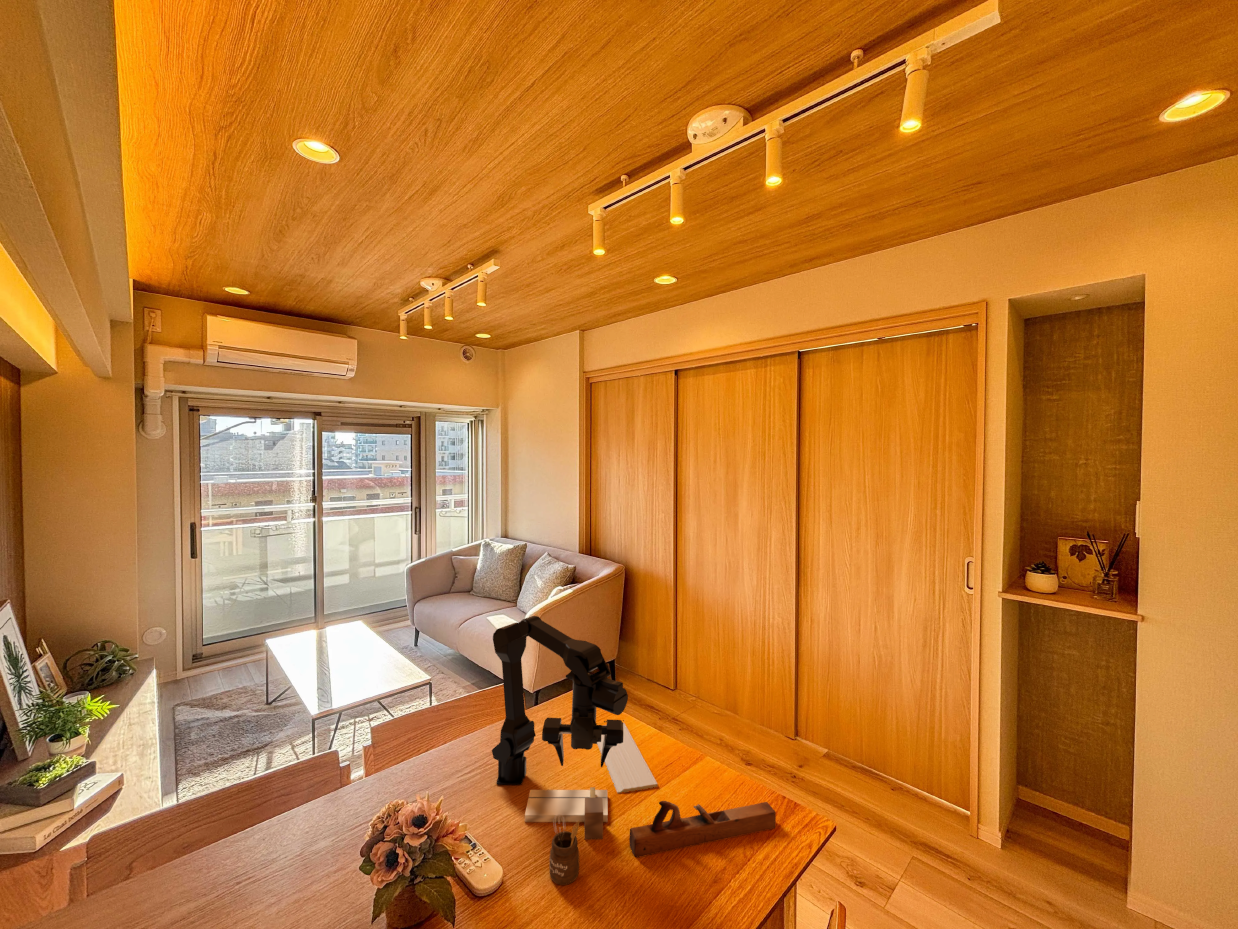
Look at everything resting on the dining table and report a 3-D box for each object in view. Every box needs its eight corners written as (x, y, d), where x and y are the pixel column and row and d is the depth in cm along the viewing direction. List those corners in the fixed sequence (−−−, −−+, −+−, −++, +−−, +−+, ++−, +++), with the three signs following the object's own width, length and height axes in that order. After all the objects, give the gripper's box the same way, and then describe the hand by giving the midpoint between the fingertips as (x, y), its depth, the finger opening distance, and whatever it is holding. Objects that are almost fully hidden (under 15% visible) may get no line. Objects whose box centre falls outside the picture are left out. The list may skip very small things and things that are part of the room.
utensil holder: (564, 858, 109) (565, 801, 109) (586, 874, 105) (587, 815, 105) (543, 875, 104) (544, 816, 104) (565, 892, 100) (566, 831, 100)
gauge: (584, 839, 114) (585, 812, 114) (584, 800, 127) (584, 776, 127) (602, 839, 115) (603, 812, 114) (600, 800, 128) (600, 775, 127)
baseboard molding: (611, 797, 130) (657, 789, 133) (612, 785, 130) (657, 778, 133) (586, 732, 160) (624, 727, 163) (586, 722, 160) (624, 718, 163)
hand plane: (636, 865, 108) (637, 817, 108) (628, 846, 113) (629, 801, 113) (776, 829, 119) (777, 786, 119) (762, 814, 124) (763, 772, 124)
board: (524, 822, 119) (524, 815, 119) (530, 796, 128) (530, 789, 128) (607, 822, 120) (607, 814, 120) (607, 796, 129) (607, 789, 129)
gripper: (539, 717, 114) (537, 787, 114) (625, 719, 114) (622, 789, 114) (546, 692, 125) (543, 756, 125) (624, 695, 125) (621, 759, 126)
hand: (581, 765), depth 122 cm, fingers open, 9 cm apart
